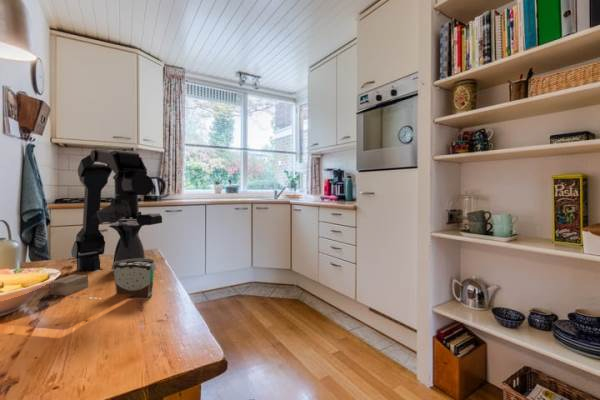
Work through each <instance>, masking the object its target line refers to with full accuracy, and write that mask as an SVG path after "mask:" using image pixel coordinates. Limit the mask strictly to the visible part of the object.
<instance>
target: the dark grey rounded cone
mask: <svg viewBox="0 0 600 400" xmlns="http://www.w3.org/2000/svg"><path fill="white" fill-rule="evenodd" d="M137 258H146V253H145V248H144V245H143V242H142V240H141V239H140V236H139V235H138V234H137V235H136V237H135V239H134V241H133V244H132V246H131V248H129V249H126V248H125V246H124V244H123V242H122V240H121V238H120V237H119V238H118V241H117V243H116V246H115V248H114V254H113V260H112V263H113V262H117V261H121V260H127V259H137Z"/></svg>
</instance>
